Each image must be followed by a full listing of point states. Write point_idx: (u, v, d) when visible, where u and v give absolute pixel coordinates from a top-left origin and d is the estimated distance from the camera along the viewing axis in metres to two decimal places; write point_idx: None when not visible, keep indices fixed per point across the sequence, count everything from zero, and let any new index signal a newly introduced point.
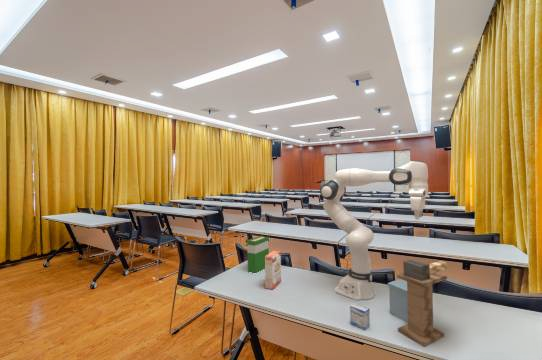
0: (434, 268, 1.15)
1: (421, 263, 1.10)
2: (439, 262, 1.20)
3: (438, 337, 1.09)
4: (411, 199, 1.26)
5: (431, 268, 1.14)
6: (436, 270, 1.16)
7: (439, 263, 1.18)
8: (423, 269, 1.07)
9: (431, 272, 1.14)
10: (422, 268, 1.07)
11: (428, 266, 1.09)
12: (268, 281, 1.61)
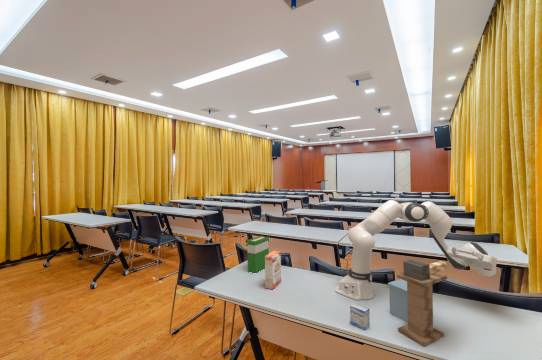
0: (434, 268, 1.15)
1: (421, 263, 1.10)
2: (439, 262, 1.20)
3: (438, 337, 1.09)
4: (495, 259, 1.24)
5: (431, 268, 1.14)
6: (436, 270, 1.16)
7: (439, 263, 1.18)
8: (423, 269, 1.07)
9: (431, 272, 1.14)
10: (422, 268, 1.07)
11: (428, 266, 1.09)
12: (268, 281, 1.61)
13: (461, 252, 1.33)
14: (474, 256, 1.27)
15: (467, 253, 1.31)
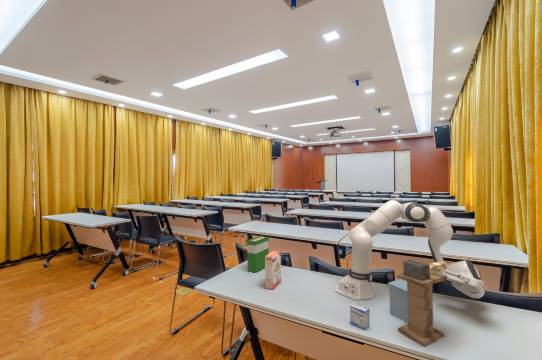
0: (434, 268, 1.15)
1: (421, 263, 1.10)
2: (439, 262, 1.20)
3: (438, 337, 1.09)
4: (482, 283, 1.19)
5: (431, 268, 1.14)
6: (436, 270, 1.16)
7: (439, 263, 1.18)
8: (423, 269, 1.07)
9: (431, 272, 1.14)
10: (422, 268, 1.07)
11: (428, 266, 1.09)
12: (268, 281, 1.61)
13: (447, 273, 1.28)
14: (460, 279, 1.22)
15: (453, 275, 1.25)
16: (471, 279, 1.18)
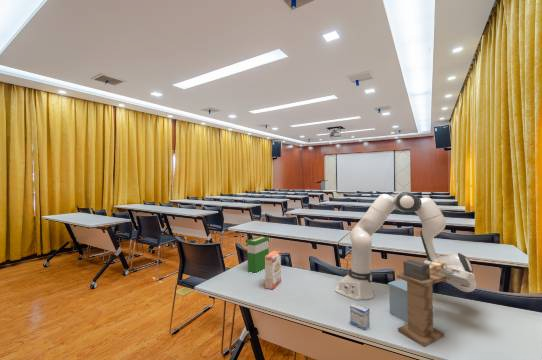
0: (434, 268, 1.15)
1: (421, 263, 1.10)
2: (439, 262, 1.20)
3: (438, 337, 1.09)
4: (473, 275, 1.15)
5: (431, 268, 1.14)
6: (436, 270, 1.16)
7: (439, 263, 1.18)
8: (423, 269, 1.07)
9: (431, 272, 1.14)
10: (422, 268, 1.07)
11: (428, 266, 1.09)
12: (268, 281, 1.61)
13: None
14: None
15: None
16: (461, 271, 1.14)
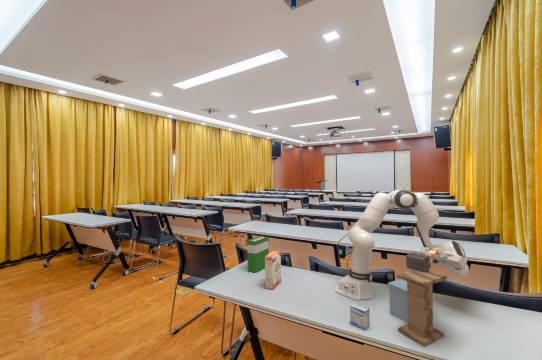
0: (431, 257, 1.25)
1: (422, 255, 1.19)
2: (433, 249, 1.31)
3: (438, 337, 1.09)
4: (465, 259, 1.26)
5: (429, 257, 1.24)
6: (433, 258, 1.26)
7: (434, 251, 1.29)
8: (425, 261, 1.16)
9: (429, 261, 1.24)
10: (425, 260, 1.16)
11: (428, 257, 1.18)
12: (268, 281, 1.61)
13: None
14: None
15: None
16: (454, 255, 1.26)
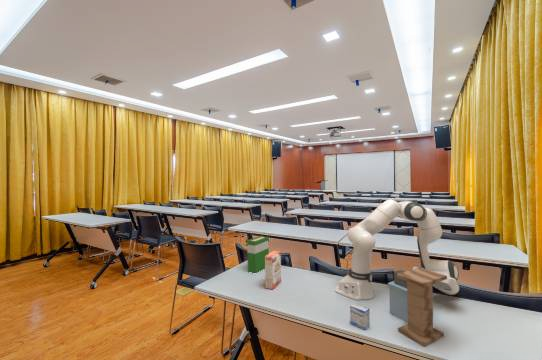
0: None
1: None
2: None
3: (438, 337, 1.09)
4: (454, 280, 1.31)
5: None
6: None
7: None
8: None
9: None
10: None
11: None
12: (268, 281, 1.61)
13: None
14: None
15: None
16: None
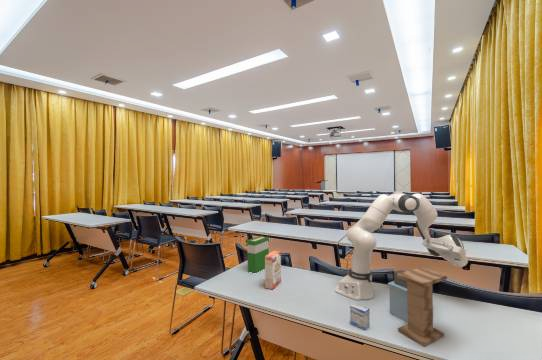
0: None
1: None
2: None
3: (438, 337, 1.09)
4: (464, 250, 1.35)
5: None
6: None
7: None
8: None
9: None
10: None
11: None
12: (268, 281, 1.61)
13: (435, 244, 1.44)
14: (445, 247, 1.39)
15: (440, 244, 1.42)
16: (454, 246, 1.35)
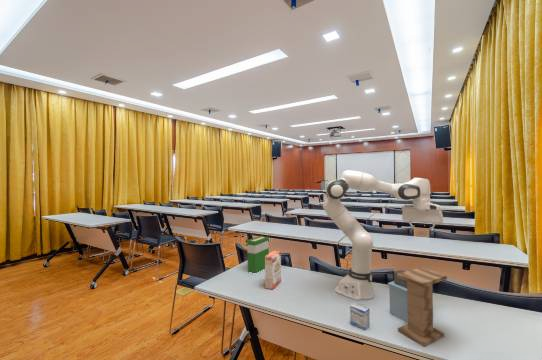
0: None
1: None
2: None
3: (438, 337, 1.09)
4: (441, 212, 1.38)
5: None
6: None
7: None
8: None
9: None
10: None
11: None
12: (268, 281, 1.61)
13: None
14: None
15: None
16: (437, 222, 1.40)
